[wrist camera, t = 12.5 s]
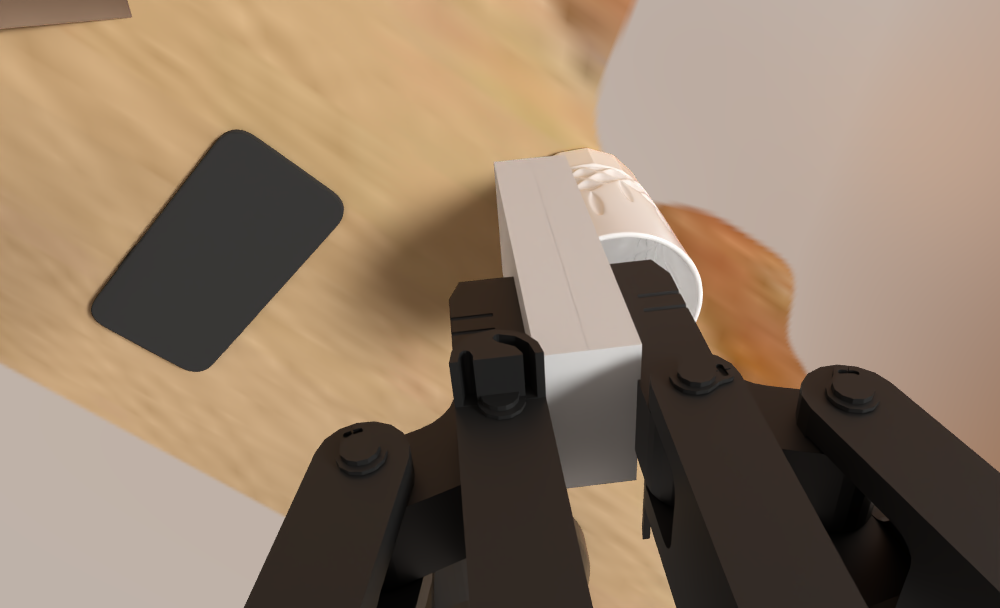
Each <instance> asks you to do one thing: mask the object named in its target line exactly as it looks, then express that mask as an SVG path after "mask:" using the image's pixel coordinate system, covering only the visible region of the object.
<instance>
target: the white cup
mask: <svg viewBox="0 0 1000 608" xmlns="http://www.w3.org/2000/svg"><path fill="white" fill-rule="evenodd" d="M556 155H565V156H566V158H567V161H568V163H569V166H570V168H571V171H572V173H573V175H574V178H575V180H576V183H577V185H578V188H579V190H580V193H581V195H582V198H583V200H584V203H585V205H586V207H587V210H588V212H589V215H590V217H591V220H592V222H593V225H594V227H595V230H596V232H597V235H598V237H599V239H600V242H601V244H602V247H603V249H604V252H605V254H606V257H607V259H608V262H609V264H614V263H623V262H632V261H641V260H650V259H651V260H653V261H654V262H655V263H657V264H658V265H659V266H661V267H662V268H664V269H665V270H666V271H668V272H669V273H670V274H671V276H672V278H673V280H674V282H675V284H676V286H677V288H678V290H679V294H680V293H681V295H682V297H683V299H684V301H685V303H686V308H687V307H688V309H689V311H690V313H691V315H692V316H693V318H694V320H695V322H696V321H697V318H698V316H699V313H700V310H701V305H702V297H703V290H702V283H701V278H700V275H699V273H698V270H697V268H696V266H695V265H694V263H693V261H692V260H691V258H690V257H689V255H688V254H687V252H686V251H685V249H684V248H683V246H682V245H681V243H680V242H679V240H678V238H677V237H676V235H675V234H674V232H673V231H672V229H671V227H670V226H669V224H668V223H667V221H666V219H665V218H664V216H663V215H662V213H661V212H660V211H659V209H658V208H657V207H656V205H655V204H654V202H653V201H652V199H651V198H650V196H649V195H648V193H647V192H646V191H645V190H644V188H643V187H642V186H641V185H640V184H639V182H638V181H637V179H636V177H635V176H634V174H633V173H632V172H631V171H630V170H629V169H628V168H627V167H626V166H625V165H624V164H623V163H621V162H620V161H619V160H618V159H617V158H616V157H615V156H614V155H612V154H608V153H605V152H601V151H597V150H593V149H589V148H582V149H577V150H571V151H565V152H559V153H557V154H555V155H554V156H556Z"/></svg>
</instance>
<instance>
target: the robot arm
mask: <svg viewBox="0 0 1000 608" xmlns="http://www.w3.org/2000/svg"><path fill="white" fill-rule="evenodd" d="M494 171H495V184H496V196H497V209H498V221H499V234H500V246H501V259H502V271H503V277H504V278H495V279H486V280H477V281H468V282H459V284H458V285H457V287H456V289H455V290H454V292H453V294H452V295H451V297H450V299H449V307H450V320H451V334H452V348H453V351H452V352H451V357H450V361H449V367H450V375H451V382H452V389H453V397H454V400H453V402H452V404H451V406H450V408H449V409H448V410H447V411H446V412H445V413H444V415H443V416H441V417H440V418H439V419H437V420H436V421H434V422H433V423H431V424H429V425H427V426H425V427H423V428H421V429H419V430H416V431H413V432H410V433H408V434H405V435H404V433H403V432H401V431H400V430H398V429H397V428H395V427H394V426H392V425H389V424H384V423H380V422H364V423H356V424H353V425H350V426H347V427H345V428H342V429H339V430H338V431H336V432H335V433H333V434H332V435H331V436H329V437H328V438H326V439H325V440H324V441H323V443H322V444H321V445H320V447H319V448H318V449H317V451H316V452H315V454H314V456H313V458H312V461H311V463H310V465H309V467H308V469H307V472H306V474H305V476H304V478H303V480H302V482H301V485H300V487H299V489H298V491H297V493H296V495H295V498H294V500H293V502H292V504H291V506H290V509H289V511H288V513H287V515H286V517H285V519H284V522H283V524H282V526H281V528H280V530H279V532H278V535H277V537H276V539H275V541H274V544H273V546H272V548H271V550H270V552H269V554H268V556H267V559H266V561H265V563H264V565H263V567H262V570H261V572H260V574H259V576H258V578H257V581H256V582H255V585H254V587H253V589H252V591H251V594H250V596H249V598H248V600H247V602H246V604H245V606H244V608H593V606H592V601H591V597H590V592H589V588H588V583H589V576H590V563H589V557H588V552H587V547H586V542H585V538H584V534H583V532H582V529H581V527H580V526H579V524H578V523H577V521H576V520H575V519H574V518H573V516H572V511H571V507H570V502H569V498H568V493H567V489H566V488H574V487H582V486H590V485H598V484H607V483H615V482H623V481H631V480H636V474H637V458H638V461H639V464H640V467H641V470H642V473H643V476H644V479H645V480H644V499H643V518H642V535H643V539H649V538H650V526H651V529H652V532H653V535H654V538H655V542H656V545H657V548H658V551H659V554H660V557H661V561H662V564H663V567H664V570H665V573H666V576H667V580H668V583H669V586H670V589H671V592H672V595H673V599H674V602H675V605H676V608H1000V473H999V472H998V471H997V470H996V469H994V468H993V467H992V466H991V465H990V464H989V463H987V462H986V461H985V460H984V459H983V458H981V457H980V456H979V455H978V454H976V453H975V452H974V451H973V450H971V449H970V448H969V447H968V446H967V445H966V444H964V443H963V442H962V441H961V440H960V439H958V438H957V437H956V436H955V435H954V434H952V433H951V432H950V431H949V430H947V429H946V428H945V427H944V426H942V425H941V424H940V423H939V422H938V421H937V420H935V419H934V418H933V417H932V416H930V415H929V414H928V413H927V412H926V411H925V410H923V409H922V408H921V407H920V406H919V405H917V404H916V403H915V402H913V401H912V400H911V399H910V398H909V397H908V396H906V395H905V394H904V393H903V392H902V391H900V390H899V389H898V388H897V387H896V386H894V385H893V384H892V383H891V382H889V381H887V380H886V379H884V378H883V377H881V376H879V375H878V374H876V373H874V372H871V371H868V370H865V369H862V368H859V367H855V366H845V365H832V366H825V367H820V368H818V369H816V370H814V371H812V372H810V373H808V374H807V376H806V377H805V379H804V380H803V382H802V383H801V388H800V389H791V388H782V387H773V386H766V385H760V384H755V383H751V382H748V381H745V380H744V379H743V378H742V376H741V374H740V373H739V372H738V371H737V369H736V368H735V367H734V366H733V365H732V364H731V363H729V362H728V361H726V360H724V359H722V358H720V357H719V356H716V355H712V353H711V351H710V349H709V347H708V345H707V343H706V341H705V340H704V338H703V336H702V334H701V332H700V330H699V328H698V326H697V324H696V322H695V320H694V318H693V316H692V315H691V313H690V311H689V309H688V307H687V308H686V303H685V301H684V299H683V297H682V295H681V293H680V294H679V290H678V288H677V286H676V284H675V282H674V280H673V278H672V276H671V274H670V273H669V272H668V271H666V270H665V269H664V268H662V267H661V266H659V265H658V264H657V263H655V262H654V261H653V260H651V259H650V260H641V261H632V262H623V263H614V264H609V262H608V259H607V257H606V254H605V252H604V249H603V247H602V244H601V242H600V239H599V237H598V235H597V232H596V230H595V227H594V225H593V222H592V220H591V217H590V215H589V212H588V210H587V207H586V205H585V203H584V200H583V198H582V195H581V193H580V190H579V188H578V185H577V183H576V180H575V178H574V175H573V173H572V171H571V168H570V166H569V163H568V161H567V158H566V156H565V155H556V156H547V157H537V158H527V159H518V160H508V161H499V162H494Z"/></svg>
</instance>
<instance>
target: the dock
mask: <svg viewBox="0 0 1000 608" xmlns="http://www.w3.org/2000/svg"><path fill="white" fill-rule="evenodd" d="M130 17H132V15H131V11H130V8H129V5H128V1H127V0H0V29H5V28H16V27H28V26H39V25H51V24H62V23H73V22H85V21H96V20H108V19H119V18H130Z"/></svg>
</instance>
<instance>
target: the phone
mask: <svg viewBox="0 0 1000 608" xmlns="http://www.w3.org/2000/svg"><path fill="white" fill-rule="evenodd" d="M343 211H344V206H343V203H342V201H341V199H340V198H339V197H338V195H337V194H335V193H334V192H333V191H332V190H330V189H329V188H328V187H326V186H325V185H323V184H322V183H321V182H319V181H318V180H316V179H315V178H314V177H312V176H311V175H309V174H308V173H307V172H305V171H304V170H302V169H301V168H300V167H298V166H297V165H295V164H294V163H292V162H291V161H290V160H288V159H287V158H285V157H284V156H283V155H281V154H280V153H278V152H277V151H276V150H274V149H273V148H271V147H270V146H268V145H267V144H266V143H264V142H263V141H261V140H260V139H258V138H257V137H256V136H254V135H252V134H251V133H248V132H246V131H243V130H231V131H228V132H226V133H224V134H223V135H222V136H221V137H220V138H219V139H218V140H217V141H216V142H215V144H214V145H213V146H212V147H211V149H210V150H209V151H208V153H207V154H206V155H205V157H204V158H203V159H202V160H201V162H200V163H199V164H198V166H197V167H196V168H195V170H194V171H193V172H192V173H191V175H190V176H189V177H188V179H187V180H186V181H185V183H184V184H183V185H182V186H181V188H180V189H179V190H178V192H177V193H176V194H175V196H174V197H173V198H172V199H171V201H170V202H169V203H168V205H167V206H166V207H165V209H164V210H163V211H162V212H161V214H160V215H159V216H158V218H157V219H156V220H155V222H154V223H153V224H152V225H151V227H150V228H149V229H148V231H147V232H146V233H145V235H144V236H143V237H142V238H141V240H140V241H139V242H138V244H137V245H136V246H134V247H133V249H132V250H131V251H130V253H129V254H128V255H127V256H126V258H125V259H124V260H123V262H122V263H121V264H120V266H119V267H118V270H117V271H116V272H115V274H114V275H113V276H112V277H111V279H110V280H109V281H108V283H107V284H106V285H105V287H104V288H103V289H102V290H101V292H100V293H99V295H98V296H97V297H96V299H95V301H94V303H93V305H92V308H91V312H92V315H93V317H94V319H95V320H96V321H97V322H98V323H100V324H101V325H102V326H104V327H106V328H108V329H109V330H111V331H113V332H115V333H117V334H119V335H120V336H122V337H124V338H126V339H128V340H130V341H132V342H134V343H135V344H137V345H139V346H141V347H143V348H145V349H147V350H149V351H150V352H152V353H154V354H156V355H158V356H160V357H162V358H164V359H165V360H167V361H169V362H171V363H173V364H175V365H177V366H179V367H181V368H183V369H185V370H188V371H193V372H199V371H203V370H206V369H208V368H209V367H210V366H211V365H212V364H213V363H214V362H215V361H216V360H217V359H218V358H219V357H220V356H221V355H222V353H223V352H225V350H226V349H227V348H228V347H229V346H230V345H231V343H232V342H233V341H234V340H235V339H236V338H237V337H238V336H239V335H240V334H241V333H242V332H243V330H244V329H245V328H246V327H247V326H248V325H249V324H250V323H251V321H252V320H253V319H254V318H255V317H256V316H257V315H258V313H259V312H260V311H261V310H262V309H263V308H264V307H265V306H266V304H267V303H268V302H269V301H270V300H271V299H272V298H273V297H274V296H275V294H276V293H277V292H278V291H279V290H280V289H281V288H282V287H283V286H284V284H285V283H286V282H287V281H288V280H289V279H290V278H291V277H292V276H293V274H294V273H295V272H296V271H297V270H298V269H299V268H300V267H301V266H302V264H303V263H304V262H305V261H306V260H307V259H308V258H309V257H310V256H311V254H312V253H313V252H314V251H315V250H316V249H317V248H318V247H319V245H320V244H321V243H322V242H323V241H324V240H325V239H326V238H327V237H328V235H329V234H330V233H331V232H332V231H333V230H334V229H335V228H336V226H337V225H338V224H339V223H340V221H341V219H342V217H343Z"/></svg>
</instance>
